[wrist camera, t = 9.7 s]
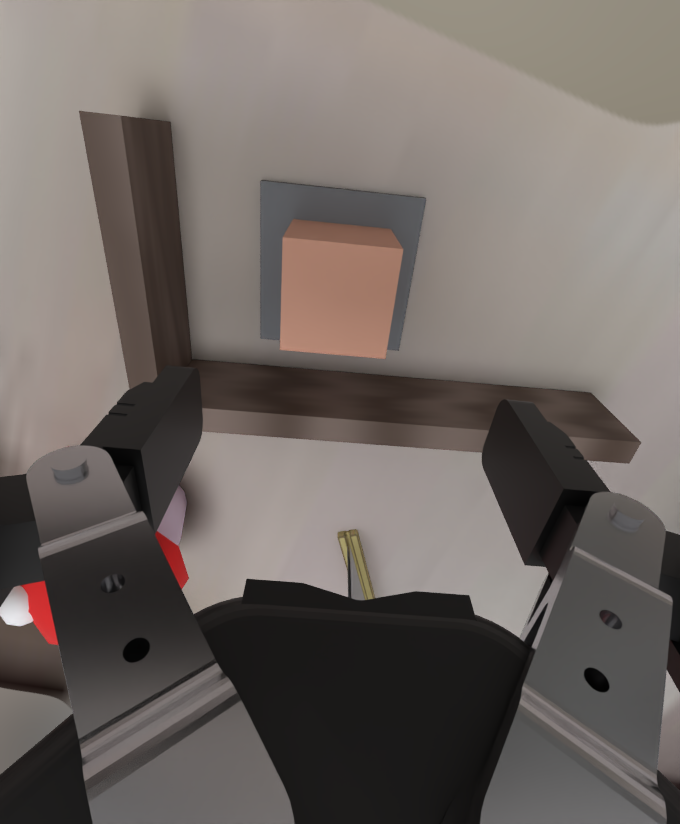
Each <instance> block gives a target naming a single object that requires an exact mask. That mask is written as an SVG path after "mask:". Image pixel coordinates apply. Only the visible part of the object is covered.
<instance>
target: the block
mask: <svg viewBox="0 0 680 824" xmlns="http://www.w3.org/2000/svg"><path fill="white" fill-rule="evenodd" d="M402 255H403V248H402V246H401V245H400V243H399V241H398V240H397V238H396V237H395V235H394V233H393V232H392V230H391V229H386V228H376V227H367V226H357V225H347V224H337V223H327V222H318V221H308V220H298V219H293V220H292V222H291V224H290V225H289V227H288V229H287V230H286V232H285V234H284V236H283V242H282V284H281V325H280V350H286V351H298V352H310V353H322V354H333V355H345V356H357V357H369V358H380V359H385V358H386V352H387V346H388V340H389V334H390V328H391V322H392V316H393V309H394V303H395V297H396V291H397V285H398V279H399V273H400V267H401V261H402Z"/></svg>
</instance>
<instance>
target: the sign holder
mask: <svg viewBox="0 0 680 824" xmlns="http://www.w3.org/2000/svg"><path fill="white" fill-rule="evenodd" d="M338 540H339V543H340V547H341V550H342V554H343V557H344V560H345V564H346V567H347V570H348V597H349V598H352V599H355V600H369V599H375V597H374V593H373V589H372V585H371V581H370V577H369V573H368V570H367V566H366V562H365V558H364V554H363V550H362V546H361V543H360V539H359V535H358V531H357V530H356V529H355V530H349V531H341V532H338Z"/></svg>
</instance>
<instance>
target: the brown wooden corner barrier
mask: <svg viewBox="0 0 680 824" xmlns="http://www.w3.org/2000/svg"><path fill="white" fill-rule="evenodd" d="M79 113H80V119H81V124H82V130H83V135H84V141H85V146H86V152H87V157H88V163H89V168H90V174H91V179H92V185H93V190H94V196H95V201H96V207H97V212H98V218H99V223H100V229H101V234H102V240H103V245H104V251H105V256H106V262H107V267H108V273H109V278H110V284H111V289H112V295H113V300H114V306H115V311H116V317H117V322H118V328H119V333H120V339H121V344H122V350H123V355H124V361H125V366H126V372H127V377H128V383H129V388H130V389H132V388H133V387H135V386H137V385H139V384H141V383H143V382H152V383H153V381H154V380H155V379H156V378H157V376H158V375H159V374H160V373H161V371H162V370H163V369H164V367H165V366H167V365H171V366H181V367H191V368H197V369H198V371H199V374H200V383H201V398H202V412H203V429H202V431H203V432H216V433H229V434H243V435H256V436H269V437H283V438H296V439H309V440H323V441H336V442H349V443H363V444H376V445H389V446H403V447H416V448H429V449H443V450H456V451H469V452H482V451H483V446H484V443H485V440H486V437H487V435H488V432H489V429H490V426H491V423H492V421H493V418H494V415H495V412H496V409H497V407H498V405H499V403H500V402H501V401H502V400H503V399H507V400H517V401H528V402H533V403H534V404H535V405H536V407H537V408H538V409H539V411H540V412H541V414H542V415H543V416H544V418H545V419H546V420H547V422H551V423H552V424H554V425H555V426H556V427H558V428H559V429H560V430H562V431H563V432H564V433H566V434H567V436H568V437H569V438H570V439H571V441H572V442H573V443H574V445H575V446H576V449H578V450H579V451H580V453H581V454H582V455H583V457H584V460H589V461H603V462H616V463H630V461H631V459H632V458H633V456H634V454H635V452H636V451H637V449H638V447H639V445H640V444H641V442H640V441H639V440H638V439H637V438H636V437H635V436H634V435H633V434H632V433H631V432H630V431H629V430H628V429H627V428H626V427H625V426H624V425H623V424H622V423H621V422H620V421H619V420H618V419H617V418H616V417H615V416H614V415H613V414H612V413H611V412H610V411H609V410H608V409H607V408H606V407H605V406H604V405H603V404H602V403H601V402H600V401H599V400H598V399H597V398H596V397H595V396H594V395H592V394H591V393H586V392H574V391H562V390H550V389H538V388H527V387H515V386H503V385H491V384H479V383H467V382H455V381H443V380H431V379H420V378H408V377H396V376H384V375H372V374H360V373H348V372H336V371H324V370H312V369H301V368H289V367H277V366H265V365H253V364H241V363H229V362H217V361H205V360H194V359H192V354H191V343H190V332H189V321H188V310H187V300H186V289H185V278H184V267H183V256H182V245H181V234H180V223H179V212H178V201H177V190H176V179H175V169H174V158H173V147H172V136H171V125H170V122H167V121H159V120H151V119H143V118H135V117H127V116H119V115H110V114H101V113H93V112H84V111H79Z"/></svg>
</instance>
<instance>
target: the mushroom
mask: <svg viewBox="0 0 680 824" xmlns="http://www.w3.org/2000/svg"><path fill="white" fill-rule="evenodd" d="M186 506H187V501H186V497H185V492H184V491H183V489H182V488H181V487H180V485H179V486H178V488H177V490H176V492H175V494H174V496H173V498H172V500H171V502H170V505H169V507H168V509H167V511H166V513H165V515H164V517H163V519H162V521H161V523H160V525H159V528H158V530H157V532H156V534H155V536H156V538H157V540H158V542H159V544H160V546H161V548H162V550H163V552H164V555H165V557H166V559H167V561H168V563H169V565H170V567H171V569H172V571H173V573H174V575H175V577H176V579H177V581H178V583H179V585H180V587H181V590H182V588H183V587H184V585H185V583H186V582H187V580H188V579H189V577H188V574H187V571H186V568H185V565H184V562H183V558H182V555H181V552H180V549H179V546H178V545H179V542H180V539H181V535H182V529H183V524H184V518H185V512H186ZM0 616H1V617H2V618H3V620H4V621H5V623H6V624H9V625H15V626H22V625H25V624H28V623H31V622H32V621H33V622H34V624H35V625H36V627H37V628H38V629H39V631H40V632H41V633H42V635H43V636H44V638H45V639H46V640H47V642H48V643H49V644H56V645H58V641H57V636H56V632H55V627H54V622H53V618H52V613H51V608H50V604H49V599H48V594H47V590H46V585H45V581H41V582H36V583H30V584H25V585H20V586H16V587H14V588H13V589H12V590H11V592H10V593H9V595H8V596H7V598H6V599H5V601H4V602H3V604H2V605H1V607H0Z"/></svg>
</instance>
